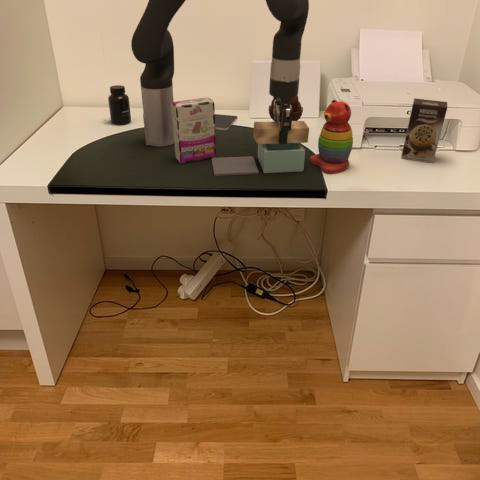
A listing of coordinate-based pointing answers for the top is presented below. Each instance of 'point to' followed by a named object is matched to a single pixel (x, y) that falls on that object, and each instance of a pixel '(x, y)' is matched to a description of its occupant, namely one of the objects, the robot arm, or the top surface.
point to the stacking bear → (334, 139)
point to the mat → (234, 166)
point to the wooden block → (270, 132)
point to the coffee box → (424, 130)
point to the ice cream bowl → (295, 106)
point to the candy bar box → (194, 129)
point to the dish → (281, 157)
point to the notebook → (224, 121)
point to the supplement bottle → (119, 106)
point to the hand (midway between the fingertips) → (280, 139)
